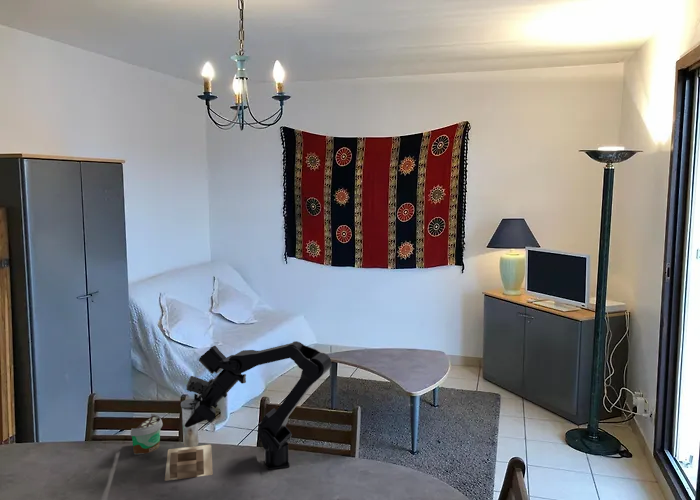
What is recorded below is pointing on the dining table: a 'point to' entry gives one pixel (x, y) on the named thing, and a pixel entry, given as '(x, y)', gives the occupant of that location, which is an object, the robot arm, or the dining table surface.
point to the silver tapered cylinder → (190, 432)
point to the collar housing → (189, 462)
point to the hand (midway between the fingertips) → (185, 423)
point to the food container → (147, 435)
